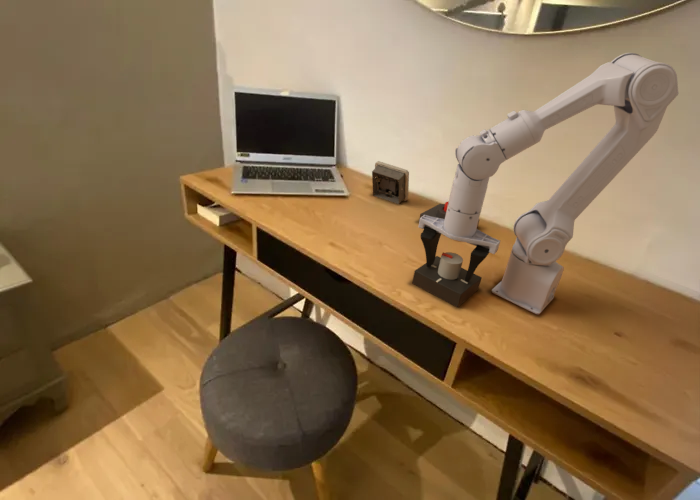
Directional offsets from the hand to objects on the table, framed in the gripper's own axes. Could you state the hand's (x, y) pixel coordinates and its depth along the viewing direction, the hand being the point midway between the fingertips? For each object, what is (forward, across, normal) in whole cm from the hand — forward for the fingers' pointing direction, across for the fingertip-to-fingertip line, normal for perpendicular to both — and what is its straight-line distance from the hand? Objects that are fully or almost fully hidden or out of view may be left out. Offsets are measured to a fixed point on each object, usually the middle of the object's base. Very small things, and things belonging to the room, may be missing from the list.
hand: (448, 271), depth 89 cm
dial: (0, 0, 0) cm, 0 cm away
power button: (0, +9, -25) cm, 26 cm away
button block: (+3, +9, -25) cm, 27 cm away
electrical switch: (+4, +27, -28) cm, 39 cm away
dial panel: (+3, 0, 0) cm, 3 cm away
